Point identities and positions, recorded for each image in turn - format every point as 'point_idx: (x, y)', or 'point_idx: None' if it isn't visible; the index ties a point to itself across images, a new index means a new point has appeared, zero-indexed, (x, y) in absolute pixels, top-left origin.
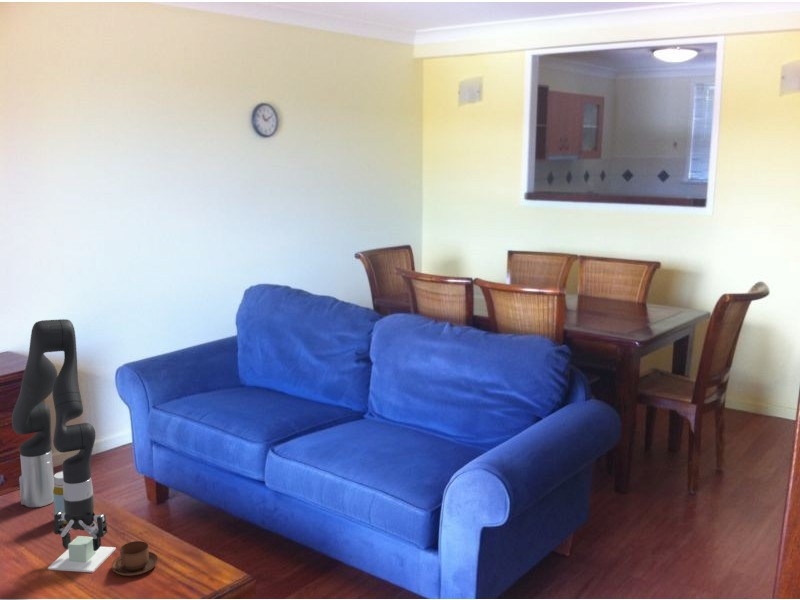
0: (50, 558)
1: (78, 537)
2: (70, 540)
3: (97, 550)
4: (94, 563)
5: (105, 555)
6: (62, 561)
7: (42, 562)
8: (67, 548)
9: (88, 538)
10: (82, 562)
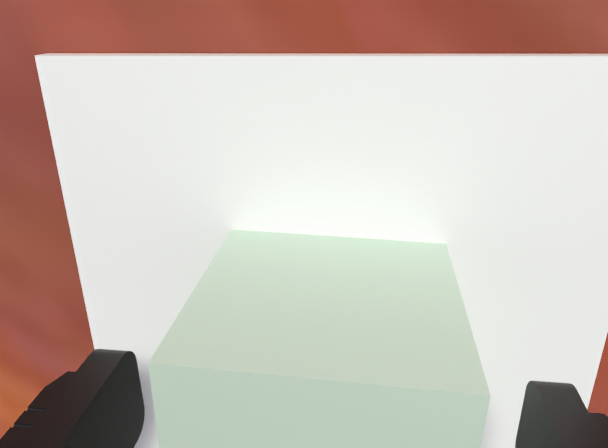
0: (15, 320)
1: (190, 409)
2: (94, 400)
3: (435, 171)
4: None
5: (590, 276)
6: None
7: (4, 382)
8: (140, 412)
9: (391, 441)
10: None
